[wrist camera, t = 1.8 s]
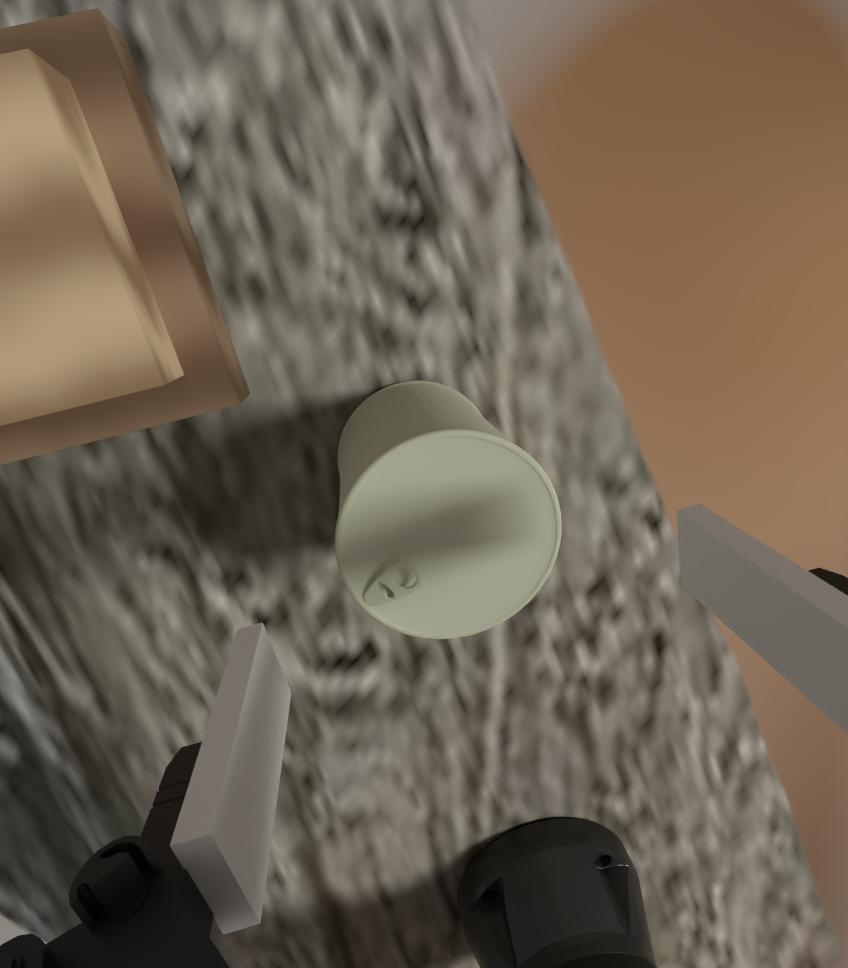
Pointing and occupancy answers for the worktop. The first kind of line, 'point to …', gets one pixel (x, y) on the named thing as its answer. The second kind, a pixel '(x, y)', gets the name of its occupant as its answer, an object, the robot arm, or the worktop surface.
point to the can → (440, 514)
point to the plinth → (152, 235)
